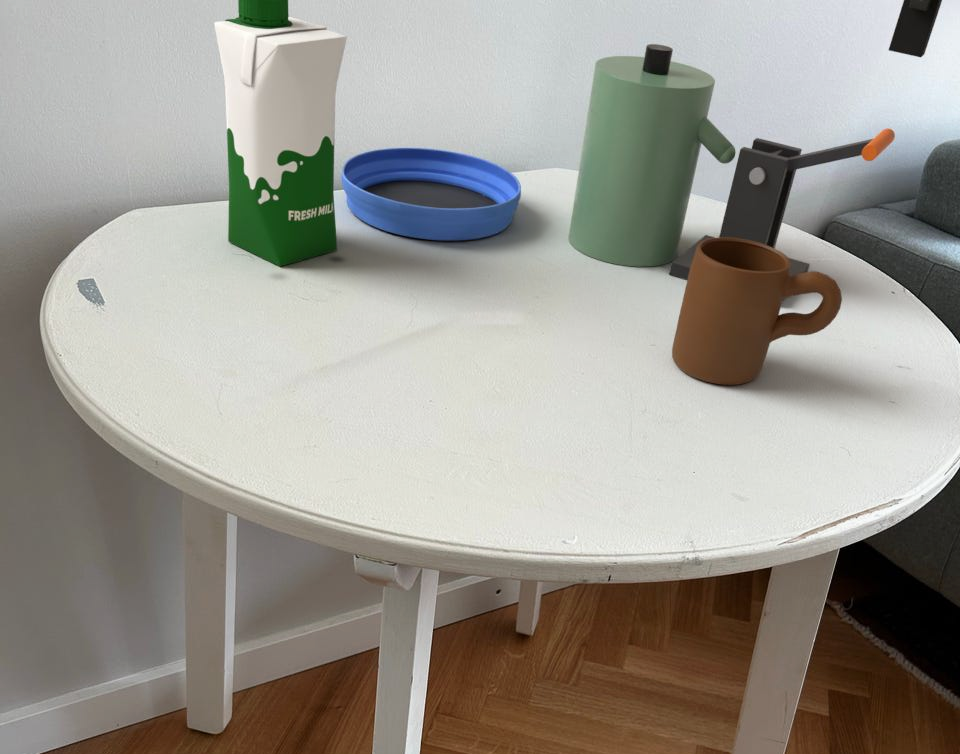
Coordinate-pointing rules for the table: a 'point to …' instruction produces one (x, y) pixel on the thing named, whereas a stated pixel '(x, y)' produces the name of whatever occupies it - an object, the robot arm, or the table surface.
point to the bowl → (430, 193)
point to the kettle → (642, 157)
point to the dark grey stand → (754, 201)
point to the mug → (743, 309)
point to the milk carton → (280, 131)
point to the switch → (842, 152)
